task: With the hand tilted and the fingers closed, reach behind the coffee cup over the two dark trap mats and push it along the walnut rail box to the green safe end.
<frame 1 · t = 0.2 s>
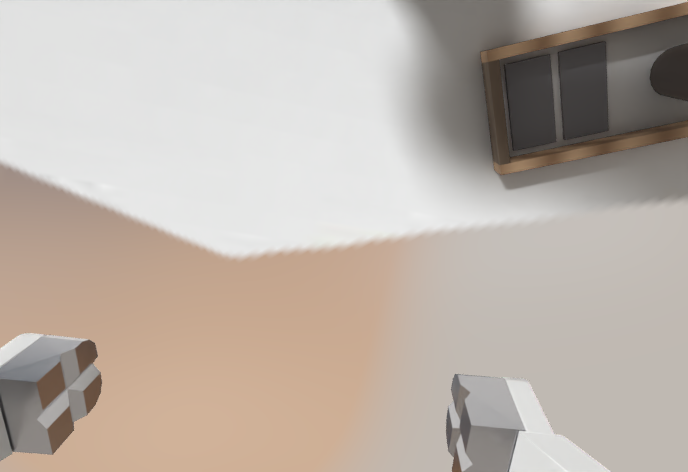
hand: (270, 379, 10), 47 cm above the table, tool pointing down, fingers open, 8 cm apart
coffee cup: (673, 71, 50), resting in trap box
trap mats: (557, 98, 52), resting in trap box
trap box: (646, 78, 51), on the table
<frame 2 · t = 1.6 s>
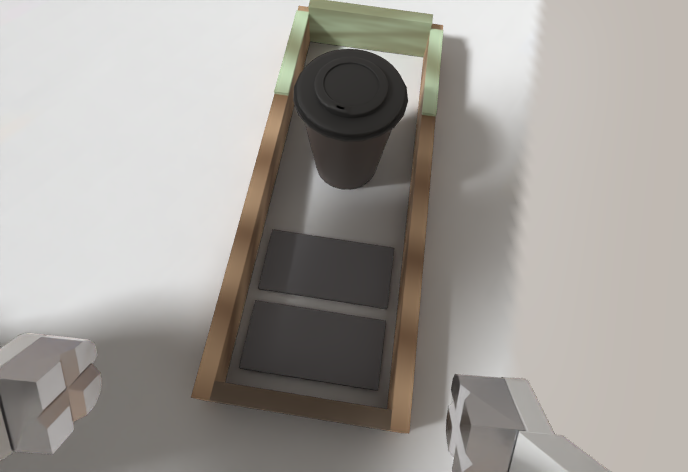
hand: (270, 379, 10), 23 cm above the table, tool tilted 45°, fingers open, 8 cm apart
coffee cup: (346, 164, 39), resting in trap box
trap mats: (321, 304, 34), resting in trap box
trap box: (341, 192, 38), on the table
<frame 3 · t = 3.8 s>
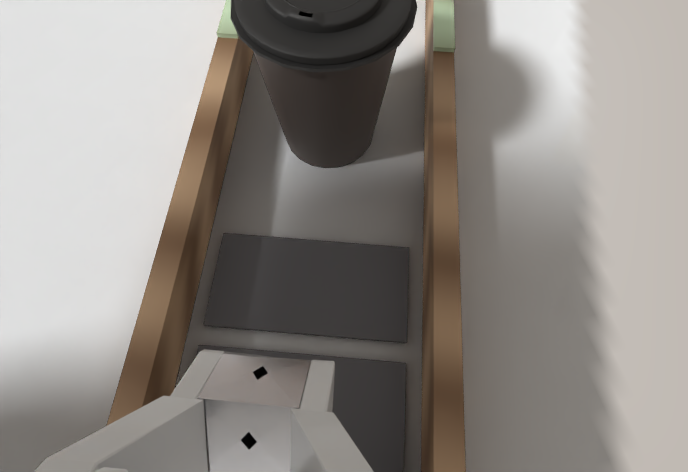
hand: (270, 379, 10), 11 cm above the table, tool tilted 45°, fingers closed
coffee cup: (329, 133, 27), resting in trap box
trap mats: (303, 343, 21), resting in trap box
trap box: (324, 172, 26), on the table
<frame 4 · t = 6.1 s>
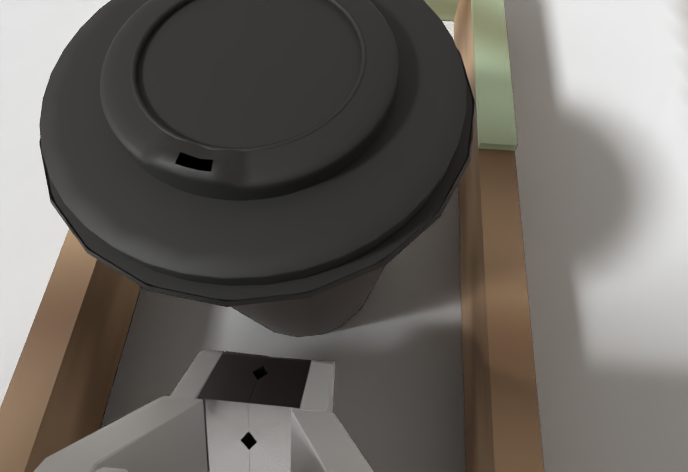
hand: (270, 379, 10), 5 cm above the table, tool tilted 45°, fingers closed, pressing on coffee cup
coffee cup: (304, 266, 17), resting in trap box, touching gripper
trap box: (290, 360, 15), on the table
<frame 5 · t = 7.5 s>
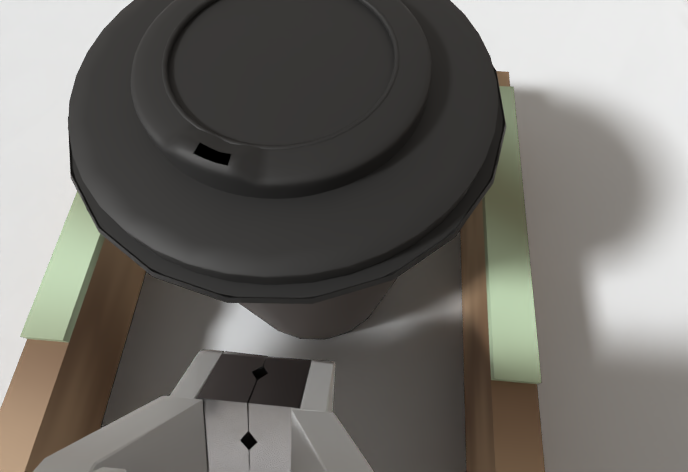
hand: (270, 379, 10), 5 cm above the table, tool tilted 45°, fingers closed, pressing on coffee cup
coffee cup: (316, 269, 16), resting in trap box, touching gripper
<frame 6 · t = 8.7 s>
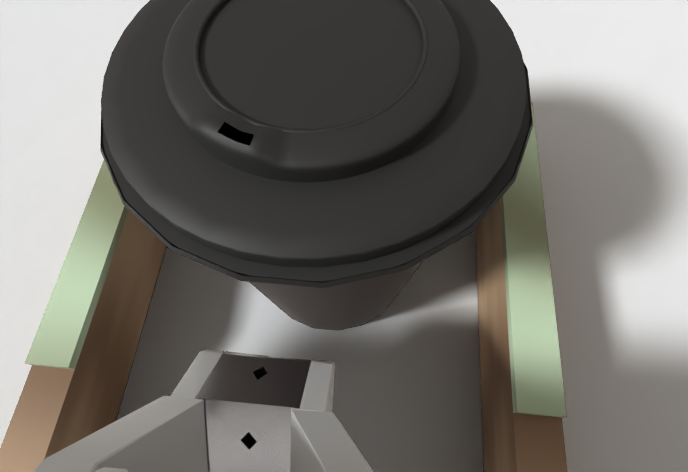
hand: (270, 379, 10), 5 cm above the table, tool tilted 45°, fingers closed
coffee cup: (334, 260, 17), resting in trap box
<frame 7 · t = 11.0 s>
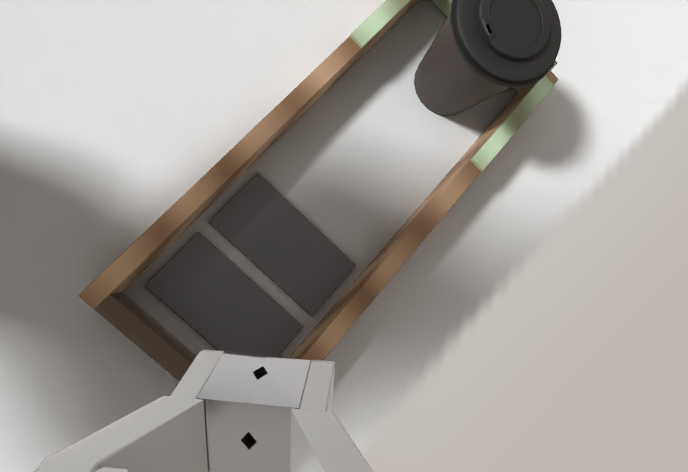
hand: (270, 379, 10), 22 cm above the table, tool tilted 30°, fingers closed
coffee cup: (442, 86, 37), resting in trap box
trap mats: (256, 275, 32), resting in trap box
trap box: (346, 179, 34), on the table
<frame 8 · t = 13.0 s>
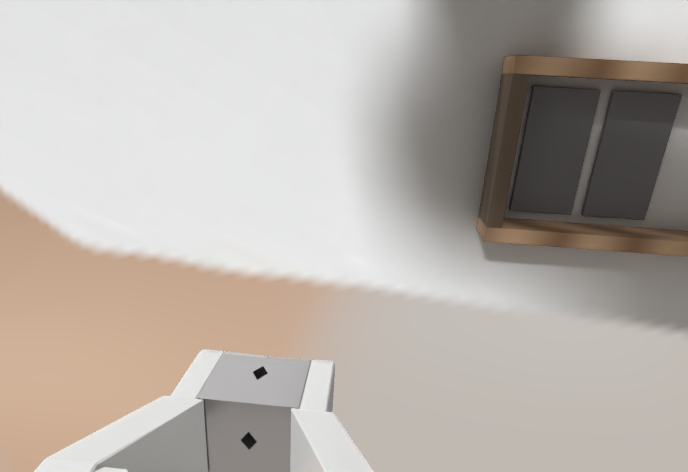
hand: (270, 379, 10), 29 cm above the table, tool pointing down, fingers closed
trap mats: (590, 155, 36), resting in trap box
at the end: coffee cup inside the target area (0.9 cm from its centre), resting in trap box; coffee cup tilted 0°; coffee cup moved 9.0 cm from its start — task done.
